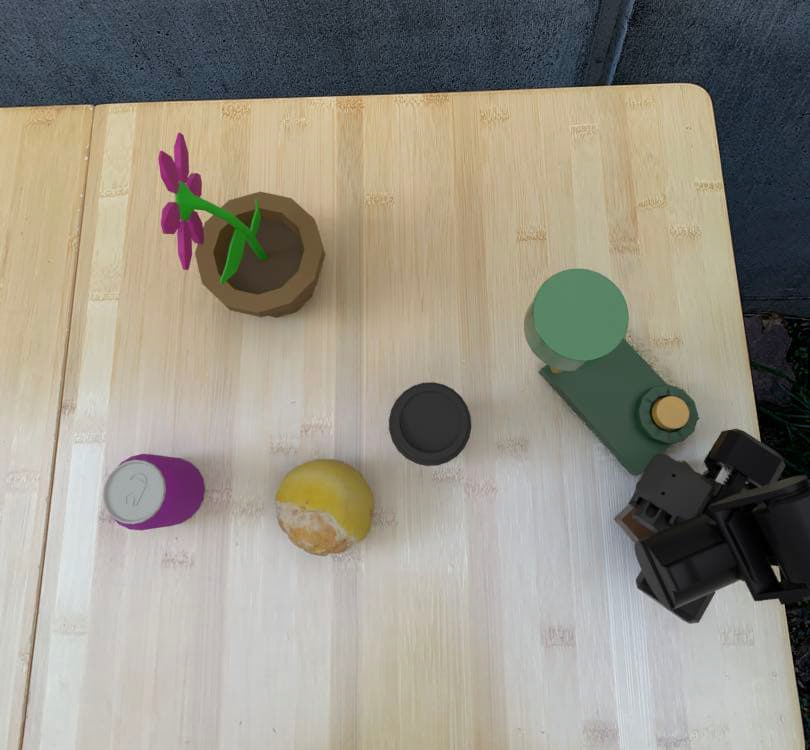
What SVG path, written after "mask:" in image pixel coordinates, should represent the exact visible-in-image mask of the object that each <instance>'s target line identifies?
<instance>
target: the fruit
mask: <svg viewBox="0 0 810 750" xmlns="http://www.w3.org/2000/svg"><path fill="white" fill-rule="evenodd" d="M274 497H275V499H274V500H275V505H276V521H277V524H278V527H279V529H280V531H282V532H283V533H285V534H286V535H287V539H288V540H289V542H291V543H292V544H293V545H294V546H295V547H297V548H299V549H302V550H303V551H304V552H305V553H307V554H309V555H313V556H318V557H328V555H331V554H336V555H340V554H342V553H344V552H347V551H348V550H349V549H351V548H352V547H353V546H354V545H357V544H359V543H361V542H363V541H364V540H366V538H367V537H368V535H369V533H370V530H371V528H372V524H373V520H374V515H375V514H374V513H375V508H376V507H375V500H374V495H373V491H372V489H371V487H370V485H369V484H368V482H367V480H366V478H365V477H364V476H363V474H362V473H361V472H360V471H358V470H357V469H356V468H354V467H353V466H351V465H350V464H348V462H344V461H342V460H338V459H332V458H317V459H313V460H308V461H306V462H303V463H302V464H300V465H298V466H297V467H295V468H293V469H291V470H290V471H289V472H288V473H287V474H286V476H285V477H284V478H283V479H282V480H281V482H280V484H279V485H278V488H277V490H276V492H275V496H274Z"/></svg>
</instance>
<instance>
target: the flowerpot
mask: <svg viewBox="0 0 810 750" xmlns="http://www.w3.org/2000/svg"><path fill="white" fill-rule="evenodd" d="M185 139H186V138H185V136H184V134H183V133H181V132H177V134H176V138H175V142H174V145H173V155H174V156H173V157H172V156H171V155H170V154H169V153H167V152H166V151H164V150H159V152H158V157H157V159H158V167H159V173H160V178H161V181H162V182H163V184H164V186H165V189H166V190H167V192H170V193H173V194H174V197H175V199H174V200H175V201H168V202H167V203H166V205H165V206H164V207H163V208H162V209H161V218H160V227H161V231H162V234H164V235H175V234H176V238H177V239H176V240H177V241H176V242H177V243H176V244H177V254H178V255H177V256H178V258H179V261H180V265H181V268H182V270H183V271H189V270H190V266H191V261H192V259H193V258H192V257H193V243H194V244H196V248H195V251H194V255H195V259H196V264H197V268H198V269H197V270H198V273H199V277H200V281H201V284H202V285H203V286H204V287H205V288H206V289H207V290H208V291H209V292H210V293H211V294H213V296H214V297H215V298H217V300H219V302H221V304H222V305H223V306H225V307H226V308H227V309H228V310H229V311H230V312H231V311H232V312H235V313H239V314H245V315H249V316H253V317H257V318H264V317H265V318H266V317H271V318H280V317H284V316H287V315H290V314H294V313H297V312H298V311H299V310H300V309H301V308H302V307H303V306H305V304H306V303H308V301H310V300H311V298H312V297H313V296H314V291H315V287H316V286H317V285H318V282H319V279H320V275H321V271H322V268H323V264H324V260H325V257H326V251H325V249H324V245H323V242H322V238H321V235H320V231H319V228H318V225H317V222H316V219H315V218H314V217H313V216H312V215H311V214H310V213H309V212H308V211H306V210H305V209H304V208H303V207H302V206H301V205H300V204H298V202H297V201H295V200H294V199H293V198H292V197H288V196H284V195H279V194H274V193H268V192H264V191H257V192H253V193H250V194H246V195H242V196H240V197H236V198H232V199H229V200H227V201H226V202H225V203H223V205H222V206H221V207H220V206H219V205H216V204H215V203H212V202H211V201H208V200H206V199H204V198H202V194H203V193H202V191H203V181H202V177H201V174H199V173H198V172H191V173H190V158H189V157H190V156H189V149H188V147H187V143H186V140H185ZM196 210H197V211H196ZM198 211H205V212H206V213H208V214H211V216H210V217H209V218H208V219H207V220H205V222H204V223H203V221H202V219H201V217H200V215H199V213H198Z"/></svg>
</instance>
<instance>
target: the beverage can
mask: <svg viewBox="0 0 810 750" xmlns="http://www.w3.org/2000/svg"><path fill="white" fill-rule="evenodd" d="M205 490H206V487H205V480H204V477H203V475H202V473H201V472H200V470H199V468H198V467H196V466H195V465H194V464H193V462H190V461H188V460H186V459H184V458H182V457H174V456H167V455H159V454H151V453H140V454H136V455H132V456H130V457H128V458H126V459H125V460H123V461H121V462H120V463H119V464H118V465H117V466H116V467H115V468H114V469H113V470H112V471H111V472H110V473H109V474H108V476H107V478H106V480H105V481H104V484H103V490H102V501H103V505H104V507H105V509H106V512H107V514H109V516H110V517H111V518H112V519H113V520H114V521H115V522H116V523H117V524H118V526H119V525H120V526H122V527H124V528H126V529H127V530H133V531H146V530H147V531H148V530H154V529H160V528H167V527H172V526H176V525H181V524H182V523H184V522H187V521H188V520H189V519H191V518H192V517H193V516H194V515H195V514H196V513H197V512H198V511H199V510H200V507H201V505H202V503H203V502H204V497H205Z"/></svg>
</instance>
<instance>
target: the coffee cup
mask: <svg viewBox="0 0 810 750" xmlns="http://www.w3.org/2000/svg"><path fill="white" fill-rule="evenodd" d="M472 427H473V426H472V416H471V412H470V410H469V407H468V405H467V403H466V401H465V400H464V399H463V396H461V395H460V394H459V393H458V392H457V391H456V390H455V389H454V388H451V387H449V386H447V384H446V385H445V384H443V383H440V382H439V383H438V382H436V381H435V382H434V381H432V382H431V381H430V382H428V381H427V382H421V383H418V384H415V385H412V386H410V387H409V388H406V390H404V391H403V392H402V393H401V394H400V395H399V396H398V397H397V398H396V399H395V402H394V403H393V405H392V406H391V409H390V413H389V417H388V432H389V435H390V439H391V441H392V443H393V445H394V446H395V448H396V450H397V451H398V452H399V453H400V454H401V456H403V457H404V458H405V459H407V460H408V461H410V462H412V463H413V464H416V465H421V466H425V467H435V466H440V465H444V464H447V463H450V462H451V461H453V460H454V459H455V458H457V457H459V455H460V454H461V453H462V452H463V450H464V449H465V448H466V446H467V444H468V442H469V440H470V437H471V433H472Z"/></svg>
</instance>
